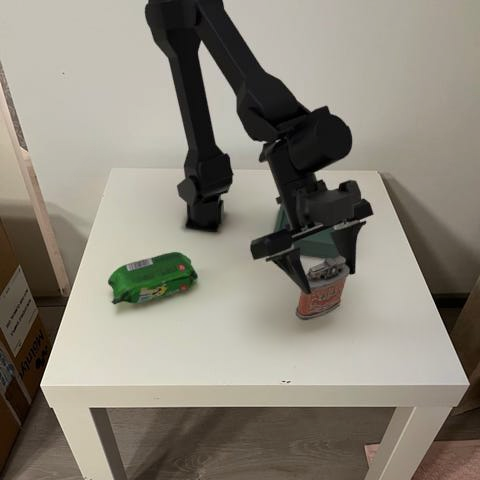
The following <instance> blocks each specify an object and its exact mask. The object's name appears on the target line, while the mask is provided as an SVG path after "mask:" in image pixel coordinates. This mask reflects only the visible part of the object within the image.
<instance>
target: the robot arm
mask: <svg viewBox="0 0 480 480" xmlns="http://www.w3.org/2000/svg"><path fill="white" fill-rule="evenodd" d="M144 17H145V21H146V23H147V26H148V28H149V30H150V33H151V37H152V39H153V42H154V43H155V45H156V46H157V47H158V48H159V50H160V51H161V52H162V53H163V54H164V56H165V57H166V58H167V61H168V64H169V68H170V72H171V78H172V81H173V86H174V92H175V95H176V99H177V104H178V109H179V113H180V117H181V122H182V125H183V130H184V134H185V138H186V143H187V148H188V150H187V153H186V156H185V159H184V163H183V171H184V179H183V180H181V181H180V182H179V183H178V184H177V185H176V189H177V193H178V197H179V198H181V200H183V201H184V202H185V203H186V216H187V219H186V222H185V225H184V226H185V228H186V229H190V230H198V231H204V232H206V231H207V232H212V233H216V232H218V230H219V227H220V225H222V223H223V220H224V217H225V211H224V210H225V204H224V203H225V200H224V199H222V195H225V194H228V193H229V192H230V188H231V186H232V185H233V182H234V175H235V174H234V172H233V169H232V164H231V157H230V155H229V153H227V152H226V153H224V151H222V149H221V148H220V147H219V146H218V144H217V141H216V138H215V133H214V127H213V122H212V117H211V113H210V108H209V107H210V106H209V101H208V97H207V92H206V86H205V81H204V77H203V72H202V67H201V62H200V56H199V52H200V51H199V50H200V47H201V43H203V45H204V47H205V48H206V50H207V51H208V54H209V55H210V57H211V58H212V60H213V61H214V62H215V64H216V66H217V67H218V69H219V71H220V73H221V74H222V75H223V77H224V78H225V81H226V82H227V83H228V84H229V86H230V88H231V90H232V91H233V94H234V95H235V98H236V101H235V103H236V104H235V108H236V109H235V110H236V115H237V117H238V118H239V120H240V122H241V125H242V126H243V129H244V131H245V133H246V134H247V136H248V138H250V139H251V140H252V141H253V142H259V143H263V142H264V143H263V144H262V149H261V152H260V153H259V154H258V155H259V156H258V162H259V163H260V164H263V163H266V162H267V164H268V166H269V169H270V172H271V176H272V178H273V181H274V184H275V187H276V189H277V193H278V195H279V196H277V197H275V201H276V204H277V205H280V204H281V203H282V204H283V207H284V210H285V213H286V216H287V219H288V221H289V223H288V224H286V225H285V227H286V228H284V229H282V230H279V231H276V232H275V231H273V232H271V233H268V234H265V235H263V236H260V237H258V238H255V239H253V240H252V239H251V240H250V241H251V242H250V245H249V251H250V254H251V256H252V259H253V261H257V260H260V259H264V258H265V262H266V263H269V262H272V263H273V264H274V265H275V266H276V267H278V268H279V269H280V270H281V271H283V272H284V273H285V274H286V275H287V276H288V277H289V278H290V280H292V282H293V283H294V284H295V285H296V286H297V288H299V289H300V291H301V290H302V291H303V292H304V293H305V294H306V295H309V294H311V289H310V285H309V282H308V279H307V277H306V274H307V273H306V271H305V269H304V266H303V263H302V260H301V255H300V253H301V247H299V248H296V249H294V246H293V242H295V241H298V240H300V239H303V238H305V237H308V236H310V235H313V234H315V233H318V232H321V231H323V230H326V229H328V228H331V227H333V226H334V229H335V231H332V232H330V235H331V237H332V240H333V242H334V244H335V246H336V248H337V251H338V253H339V257H340V256H342V257H344V258H345V260H346V261H345V264H346V265H347V266H348V267H349V269H350V272H349V275H350V276H352V275H355V274H356V265H357V243H358V242H357V241H358V235H359V233H360V232H361V229H362V228H363V226H365V225H366V224H367V220H365V219H367V218H369V217H371V216H374V214H375V213H374V210H373V207H372V203H370V201H368V200H367V199H366V198H365V197H362V192H361V189H360V187H359V184H358V182H357V180H356V179H355V180H354V179H348V180H345V181H342V182H340V183H338V187H337V188H334V189H329V188H328V186H327V184H326V182H325V181H324V179H323V178H321V179H318V178H317V176H316V173H317V172H319V171H321V170H323V169H325V168H327V167H330V166H331V165H333V164H335V163H338V162H339V161H341V160H343V159H345V158H346V157H348V155H350V153H351V150H352V148H353V142H354V141H353V134H352V130H351V127H350V126H349V125H347V123H346V122H345V121H344V120H343V119H342V118H341V117H340V116H338V115H336V114H333V113H331V111H330V108H329V105H323V106H320V107H318V108H315V109H313V110H312V111H311V110H310V109H309V108H307V106H305V105H304V104H302V103H301V102H300V101H299V100H298V99H297V98H296V96H295V95H294V93H293V92H292V91H291V89H290V88H289V87H288V86H287V85H286V84H285V83H284V81H282V80H281V79H280V78H278V77H276V76H274V75H273V74H271V73H269V72H267V71H266V70H265V69H264V68H263V67H262V65H261V64H260V61H258V59H257V57H256V56H255V54H254V53H253V51H252V50H251V48H250V46H249V45H248V44H247V42H246V40H245V39H244V37H243V36H242V34H241V33H240V31H239V30H238V28H237V26H236V25H235V23H234V22H233V20H232V19H231V17H230V15H229V14H228V12H227V10H226V9H225V4H224V1H223V0H148V1H147V3H146V4H145V6H144ZM361 220H363V221H361ZM314 222H315V223H316V222H318V223H321V224H318V225H315V223H314ZM305 225H307V228H308V229H305V230H303V231H302V230H301V229H302V228H305V227H306V226H305ZM289 230H290V231H289Z"/></svg>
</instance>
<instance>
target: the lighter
mask: <svg viewBox="0 0 480 480" xmlns="http://www.w3.org/2000/svg"><path fill="white" fill-rule="evenodd" d="M345 261H346V260H345V258H344V257H342V256H340V255H339V257H337V258H334V259H332V258H331V257H329V258H325V260H324V261H323V262H321V263H318V264H316V265H313V266H311V267H309V268H308V271H307V273H305V274H306V277H307V279H308V282H309V285H310V289H311V294H309V295H306V294H305V293H304V292H303V291H302V290H301V289H300V294H299V298H298V304H297V306H296V308H295V316H296V317H297V319H298V320H301V321H303V322H306V321H311V320H315V319H318V318H321V317H324V316H326V315H328V314H330V313H332V312H333V311H335V310H336V309H338V308H339V307H340V306H341V303H342V295H343V291H344V288H345V284H346V281H347V277H349V275H350V274H349V272H350V269H349V267H348V266H347V265H346V264H345Z"/></svg>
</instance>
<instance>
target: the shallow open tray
mask: <svg viewBox="0 0 480 480" xmlns="http://www.w3.org/2000/svg"><path fill="white" fill-rule="evenodd" d="M279 205H280V206H279V209H278V213H277V214H278V215H277V218H276V222H275V223H276V224H275V229H274V232H276V231H279V230H282V229H284V228H286V227H285V225H286V224H288V223H289V221H288V219H287V216H286V213H285V210H284V207H283V204H282V203H281V204H279ZM314 223H315V222H314ZM318 224H321V223H318V222H316V223H315V225H318ZM305 226H306V227H305V228H302V229H301V230H302V231H303V230H305V229H308V228H307V225H305ZM289 231H290V230H289ZM332 231H335V229H334V226H333V227H331V228H328V229H326V230H323V231H321V232H318V233H315V234H313V235H310V236H308V237H305V238H303V239H300V240H298V241H295V242H293V246H294V249H296V248H299V247H301V253H300V256H308V257H315V258H322V259H327V258H329V257H331V258H332V259H334V258H337V257H340V255H339V253H338V251H337V248H336V246H335V244H334V242H333V240H332V237H331V235H330V232H332Z"/></svg>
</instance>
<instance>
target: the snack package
mask: <svg viewBox="0 0 480 480" xmlns="http://www.w3.org/2000/svg"><path fill="white" fill-rule="evenodd" d="M198 278H199V275H198V273H197V271H196V270H195V268H194V267H193V265H192V260H191V258H189V257H188V256H187V255H186V254H183V253H182V252H178V251H172V252H167V253H162V254H160V255H156V256H152V257H148V258H144V259H140V260H136V261H132V262H129V263H126V264H124V265H122V266H119V267H118V268H117V269H115V270H114V271H113V272H112V273H111V274H110V276H109V277H108V280H107V284H108V285H109V286H110V287H111V289H112V294H113V298H112V300H111V301H110V300H109V302H110V303H112V304H113V305H117V304H119V303H124V302H125V303H128V304H133V305H134V304H136V305H137V304H143V303H146V302H151V301H154V300H156V299H160V298H163V297H168V296H171V295H172V294H176V293H179V292H182V291H184V290H188V288H190V287H191V286H192V285H193V284H194V283H195V282H196V281H197V280H198Z"/></svg>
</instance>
